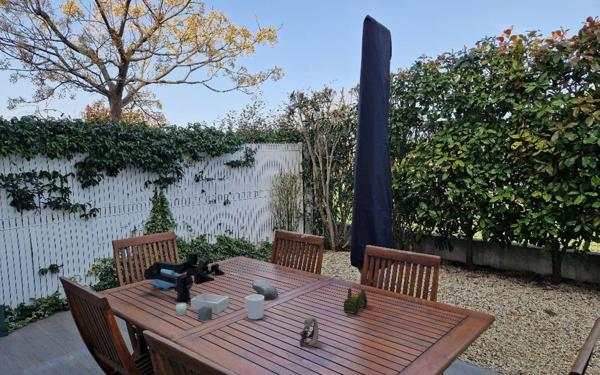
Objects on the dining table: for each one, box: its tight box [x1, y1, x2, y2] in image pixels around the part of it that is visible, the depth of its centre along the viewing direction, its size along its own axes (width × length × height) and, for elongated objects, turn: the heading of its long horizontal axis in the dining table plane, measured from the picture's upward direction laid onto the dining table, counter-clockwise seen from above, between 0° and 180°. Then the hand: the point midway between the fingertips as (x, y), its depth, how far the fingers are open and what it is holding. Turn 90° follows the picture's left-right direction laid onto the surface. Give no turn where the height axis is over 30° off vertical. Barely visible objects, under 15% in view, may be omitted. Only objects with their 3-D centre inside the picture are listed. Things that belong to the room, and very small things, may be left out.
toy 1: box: [299, 314, 319, 348], centre depth 164 cm, size 8×8×14 cm
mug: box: [243, 293, 265, 321], centre depth 194 cm, size 11×9×10 cm
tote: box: [190, 292, 230, 315], centre depth 207 cm, size 17×11×6 cm, turn 67°
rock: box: [251, 279, 279, 300], centre depth 224 cm, size 11×17×10 cm, turn 52°
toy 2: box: [343, 287, 368, 315], centre depth 205 cm, size 10×24×10 cm, turn 156°
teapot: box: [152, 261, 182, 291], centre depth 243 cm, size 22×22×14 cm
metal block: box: [197, 306, 213, 322], centre depth 193 cm, size 5×5×5 cm
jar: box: [175, 302, 187, 317], centre depth 199 cm, size 5×5×5 cm
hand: (219, 276), depth 207 cm, fingers open, 9 cm apart
